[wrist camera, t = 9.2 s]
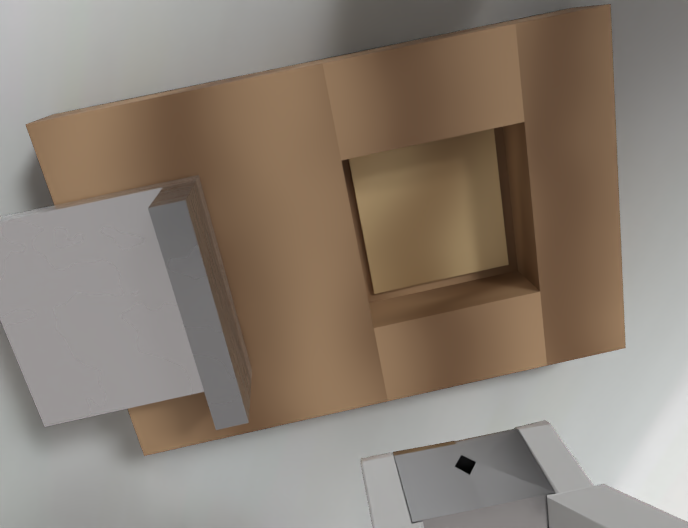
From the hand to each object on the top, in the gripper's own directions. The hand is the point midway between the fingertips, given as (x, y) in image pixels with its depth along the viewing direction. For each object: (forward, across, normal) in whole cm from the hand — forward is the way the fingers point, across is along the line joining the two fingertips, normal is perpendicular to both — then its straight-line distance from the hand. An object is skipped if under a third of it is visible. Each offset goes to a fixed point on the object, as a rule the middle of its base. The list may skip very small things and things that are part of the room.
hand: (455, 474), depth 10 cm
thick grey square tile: (+12, +8, 0) cm, 14 cm away
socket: (+15, 0, 0) cm, 15 cm away
